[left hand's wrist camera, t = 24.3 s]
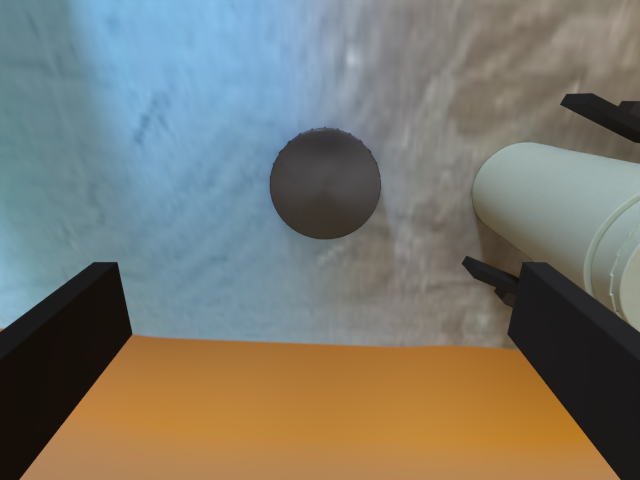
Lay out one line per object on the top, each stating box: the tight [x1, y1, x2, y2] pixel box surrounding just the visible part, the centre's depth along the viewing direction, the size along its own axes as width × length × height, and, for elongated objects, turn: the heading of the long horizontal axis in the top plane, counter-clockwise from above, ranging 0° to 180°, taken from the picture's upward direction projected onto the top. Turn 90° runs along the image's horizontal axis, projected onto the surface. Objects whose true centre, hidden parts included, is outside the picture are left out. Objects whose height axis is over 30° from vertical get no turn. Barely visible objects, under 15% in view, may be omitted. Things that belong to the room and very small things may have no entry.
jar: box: [472, 142, 640, 332], centre depth 25 cm, size 8×8×18 cm
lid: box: [270, 127, 381, 239], centre depth 32 cm, size 9×9×2 cm
